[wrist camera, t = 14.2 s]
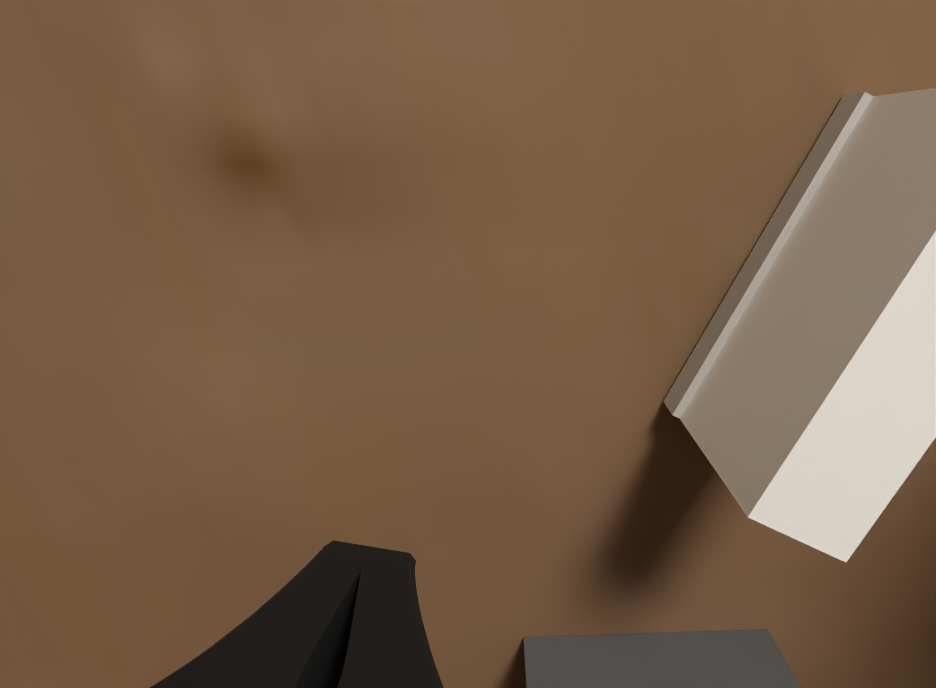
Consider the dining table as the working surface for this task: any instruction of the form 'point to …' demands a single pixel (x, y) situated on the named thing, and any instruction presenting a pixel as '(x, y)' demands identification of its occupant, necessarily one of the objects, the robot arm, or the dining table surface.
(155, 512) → the dining table surface
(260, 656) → the robot arm
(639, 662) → the gray rectangular block
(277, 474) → the dining table surface
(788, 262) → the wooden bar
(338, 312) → the dining table surface
